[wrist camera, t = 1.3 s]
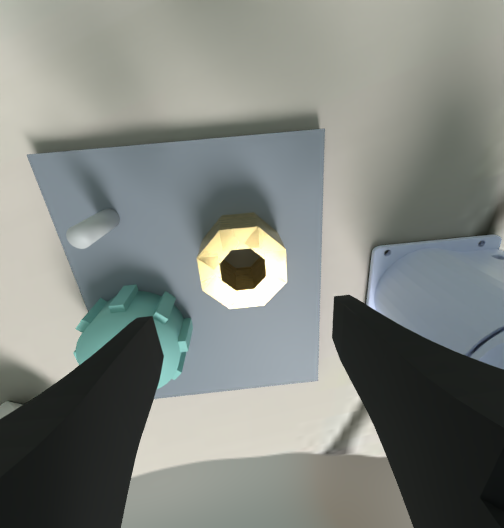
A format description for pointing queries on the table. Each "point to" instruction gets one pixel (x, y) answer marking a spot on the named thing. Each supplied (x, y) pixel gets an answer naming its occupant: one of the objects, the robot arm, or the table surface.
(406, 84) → the table surface
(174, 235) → the gear board
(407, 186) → the table surface
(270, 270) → the yellow faceted ring
